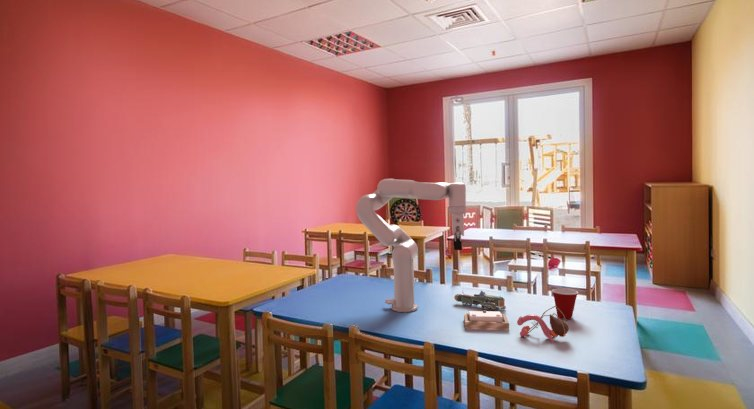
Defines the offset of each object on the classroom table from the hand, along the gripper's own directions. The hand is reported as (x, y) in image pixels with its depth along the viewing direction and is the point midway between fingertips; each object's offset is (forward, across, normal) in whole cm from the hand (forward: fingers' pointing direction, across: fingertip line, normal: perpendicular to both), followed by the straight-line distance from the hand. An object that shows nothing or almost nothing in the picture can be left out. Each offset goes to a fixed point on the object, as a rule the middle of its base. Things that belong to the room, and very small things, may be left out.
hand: (457, 247), depth 193 cm
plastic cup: (+31, -1, -46) cm, 55 cm away
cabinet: (+30, -14, -11) cm, 35 cm away
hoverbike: (+31, +10, -10) cm, 34 cm away
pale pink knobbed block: (+30, -14, -11) cm, 34 cm away
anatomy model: (+31, -26, -31) cm, 51 cm away
